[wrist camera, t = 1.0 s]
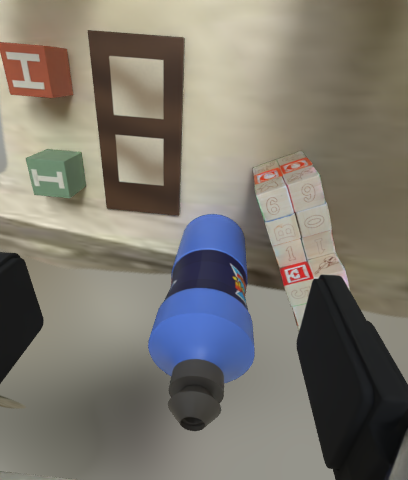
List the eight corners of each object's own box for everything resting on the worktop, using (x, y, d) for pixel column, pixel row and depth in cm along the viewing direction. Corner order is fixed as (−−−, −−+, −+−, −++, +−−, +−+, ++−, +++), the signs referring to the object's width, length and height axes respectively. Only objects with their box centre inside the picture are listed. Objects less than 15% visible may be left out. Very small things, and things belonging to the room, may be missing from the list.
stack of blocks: (250, 167, 36) (257, 207, 25) (301, 149, 35) (332, 183, 24) (290, 295, 45) (307, 363, 35) (332, 285, 44) (363, 354, 33)
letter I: (46, 148, 37) (24, 158, 33) (81, 152, 37) (63, 161, 33) (53, 182, 39) (33, 195, 35) (86, 186, 39) (69, 198, 35)
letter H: (26, 45, 32) (-4, 41, 28) (66, 48, 31) (43, 45, 28) (35, 91, 34) (9, 94, 30) (73, 95, 34) (52, 98, 30)
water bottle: (188, 271, 45) (146, 456, 23) (174, 217, 40) (108, 384, 19) (249, 266, 43) (265, 458, 22) (242, 209, 39) (253, 380, 17)
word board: (89, 30, 30) (87, 30, 30) (184, 38, 30) (183, 37, 29) (108, 206, 41) (106, 208, 40) (179, 213, 40) (178, 216, 40)
